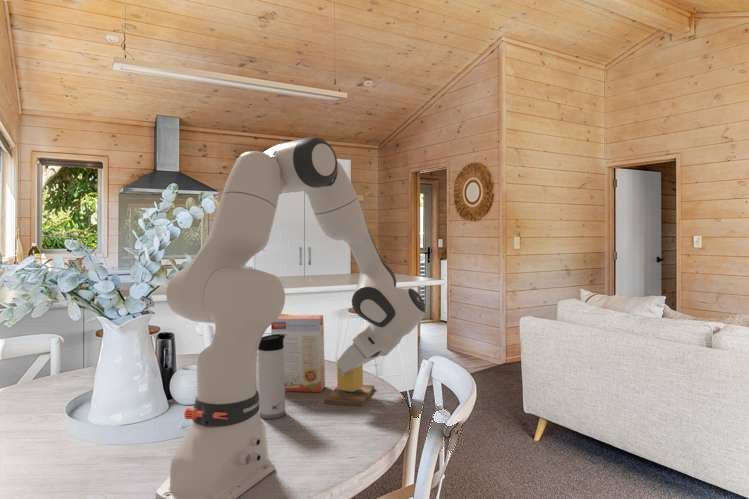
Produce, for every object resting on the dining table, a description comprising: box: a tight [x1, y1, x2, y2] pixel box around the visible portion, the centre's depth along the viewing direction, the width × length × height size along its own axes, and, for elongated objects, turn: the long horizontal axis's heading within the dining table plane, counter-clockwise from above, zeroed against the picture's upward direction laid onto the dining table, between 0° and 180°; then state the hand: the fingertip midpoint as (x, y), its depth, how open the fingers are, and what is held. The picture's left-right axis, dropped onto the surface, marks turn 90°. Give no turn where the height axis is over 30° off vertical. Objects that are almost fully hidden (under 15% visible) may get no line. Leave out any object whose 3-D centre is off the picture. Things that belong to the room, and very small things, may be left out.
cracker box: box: [270, 314, 326, 393], centre depth 148 cm, size 14×6×21 cm, turn 84°
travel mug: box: [257, 334, 286, 420], centre depth 129 cm, size 6×7×20 cm
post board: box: [324, 384, 375, 407], centre depth 142 cm, size 14×10×11 cm
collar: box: [336, 359, 364, 392], centre depth 142 cm, size 5×5×8 cm
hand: (347, 370), depth 142 cm, fingers closed on collar, 5 cm apart
